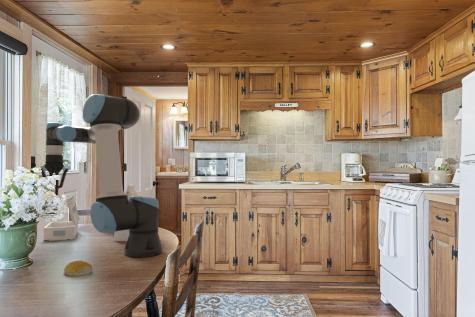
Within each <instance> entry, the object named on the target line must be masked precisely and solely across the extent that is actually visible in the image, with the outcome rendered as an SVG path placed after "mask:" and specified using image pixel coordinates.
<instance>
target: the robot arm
mask: <svg viewBox="0 0 475 317" xmlns="http://www.w3.org/2000/svg"><path fill="white" fill-rule="evenodd" d="M140 113H141V112H140V110H139V107H138V105H137V104H136V103H135V102H134V101H133V100H131V99H129V98H125V97H117V96H112V95H106V94H104V93H102V94H99V93H94V94H93V93H92V94H90V95H89V96H88V97H87V98H86V99H85V102H84V105H83V108H82V119H83V121H84V122H85V123H86V124H89V127H84V126H83V127H81V126H71V125H67V124H63V123H61V122H54V121H53V122H52V121H51V122H47V123H46V129H45V130H46V131H45V132H46V133H45V154H46V155H45V164H44V166H43V167H41V170H42V172H40V173H41V176H42V178H43V177H46V178H47V174H46V171H47V173H48V175H49V176H52V175H53V176H55V175H59V176H60V173H61V171H62V176H61V178H60V179H59V180H60V183H59V180H56V185H55V184H54V188H53V190H51V191H52V192H54V193H55V194H56V195H57V196H59V189H61V188H63V186H64V184H65V179H66V176H67V173H68V171H70V170H69V168H67V167H65V165H64V155H63V154H64V143H83V144H85V143H86V144H95V154H96V165H97V166H96V167H97V177H98V190H99V193H98V195H97V196H96V198H95V202H94V203H92V205H91V207H90V210H89V211H90V215H89V216H90V220H91V223H92V225H93V227H94V228H95V230H96V231H98V232H99V233H102V234H104V233H106V234H107V233H114V232H116V231H123V230H129V236H128V239H127V241H125V242H126V243H125V246H124V248H123V249H124V251H123V254H124V256H126V257H127V256H128V257H131V258H147V257H149V258H150V257H154V256H155V257H156V256H159V255H161V254H163V245H162V241H161V238H160V236H159V218H160V216H159V211H160V205H159V204H160V203H159V200H158V199H157V198H156V197H149V196H142V195H140V196H130V198H129V200H128V196H127V194H126V193H125V191H124V189H123V188H124V187H123V175H122V166H121V165H122V164H121V154H120V143H119V131H120V130H128V129H130V128H132V127H134V126H135V125H136V124H137V123H138V122H139V120H140V115H141V114H140ZM57 196H56V197H57ZM141 196H142V197H141Z"/></svg>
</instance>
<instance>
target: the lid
mask: <svg viewBox="0 0 475 317" xmlns="http://www.w3.org/2000/svg"><path fill="white" fill-rule="evenodd" d="M74 197H75V196H74V195H71V196H69V197H68V198H66V200H65V201H66V203H67V204H66V205H67V208H68V212H69V215H70V219H71V221H72V223H73V226H74V225H76V224H77V223H78V224H79V221H80V216H79V215H80V214H79V211H78V208H77V205H76V201H75V198H74Z"/></svg>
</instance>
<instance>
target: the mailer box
mask: <svg viewBox="0 0 475 317" xmlns="http://www.w3.org/2000/svg"><path fill="white" fill-rule="evenodd" d="M78 234H79V222H78V223H77V224H76V225H74V226H73V223H72V220H69V221H50V222H49V223H48V224H46V226H44V227H43V241H44V240H49V241H64V240H65V241H66V240H67V239H70V240H75V239H76V237H77V235H78Z"/></svg>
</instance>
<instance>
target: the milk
mask: <svg viewBox="0 0 475 317" xmlns="http://www.w3.org/2000/svg"><path fill="white" fill-rule="evenodd" d="M135 187H136V186H135V184H129V185H127V187H126V191H124V192H125V193H126V194H127V196H128V200H129V198H130V196H141V197H143V196H142V195H141V194H140V193H138V192H137V191H136V190H135ZM128 236H129V230H123V231H116V232H113V242H127V239H128Z"/></svg>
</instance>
